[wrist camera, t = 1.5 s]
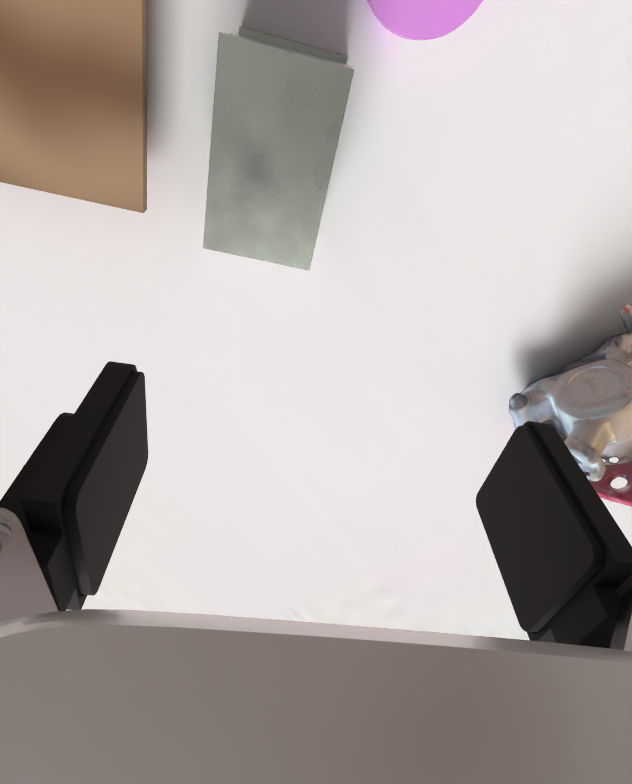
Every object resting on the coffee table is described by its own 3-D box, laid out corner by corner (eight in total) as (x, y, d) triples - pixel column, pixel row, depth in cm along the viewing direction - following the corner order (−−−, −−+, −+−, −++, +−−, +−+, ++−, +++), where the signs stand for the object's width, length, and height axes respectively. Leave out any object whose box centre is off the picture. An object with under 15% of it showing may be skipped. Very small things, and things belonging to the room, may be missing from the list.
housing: (241, 27, 21) (219, 22, 16) (346, 56, 22) (356, 59, 17) (222, 215, 26) (202, 254, 21) (308, 234, 27) (308, 276, 22)
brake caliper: (547, 494, 37) (574, 557, 26) (479, 374, 38) (477, 384, 27) (703, 433, 33) (816, 476, 22) (623, 301, 34) (691, 277, 23)
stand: (-175, -220, 17) (-257, -264, 14) (163, -114, 18) (141, -138, 16) (-78, 144, 24) (-122, 155, 21) (159, 196, 25) (143, 213, 23)
